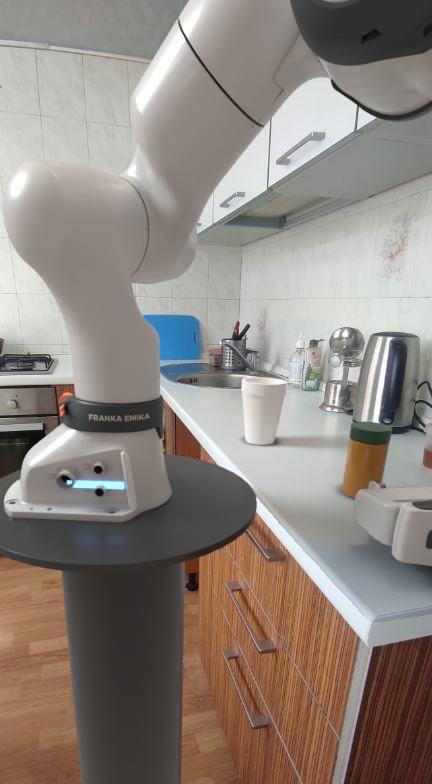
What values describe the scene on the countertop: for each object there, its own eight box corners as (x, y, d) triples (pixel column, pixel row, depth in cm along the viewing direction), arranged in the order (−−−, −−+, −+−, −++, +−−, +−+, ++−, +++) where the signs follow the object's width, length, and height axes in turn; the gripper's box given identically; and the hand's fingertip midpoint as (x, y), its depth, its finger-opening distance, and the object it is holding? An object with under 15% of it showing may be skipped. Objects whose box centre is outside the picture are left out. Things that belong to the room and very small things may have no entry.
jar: (351, 500, 72) (361, 434, 69) (335, 486, 78) (344, 424, 74) (386, 499, 74) (398, 434, 70) (368, 485, 79) (379, 424, 75)
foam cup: (232, 435, 104) (235, 377, 100) (270, 433, 107) (275, 376, 103) (248, 448, 96) (252, 385, 91) (288, 445, 99) (294, 384, 94)
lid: (359, 444, 69) (361, 431, 68) (342, 433, 75) (344, 421, 74) (397, 443, 70) (400, 431, 69) (378, 432, 76) (379, 421, 75)
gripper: (565, 502, 51) (478, 461, 64) (394, 509, 48) (338, 464, 60) (548, 552, 53) (468, 503, 66) (384, 562, 50) (332, 509, 63)
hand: (405, 485), depth 63 cm, fingers open, 8 cm apart
